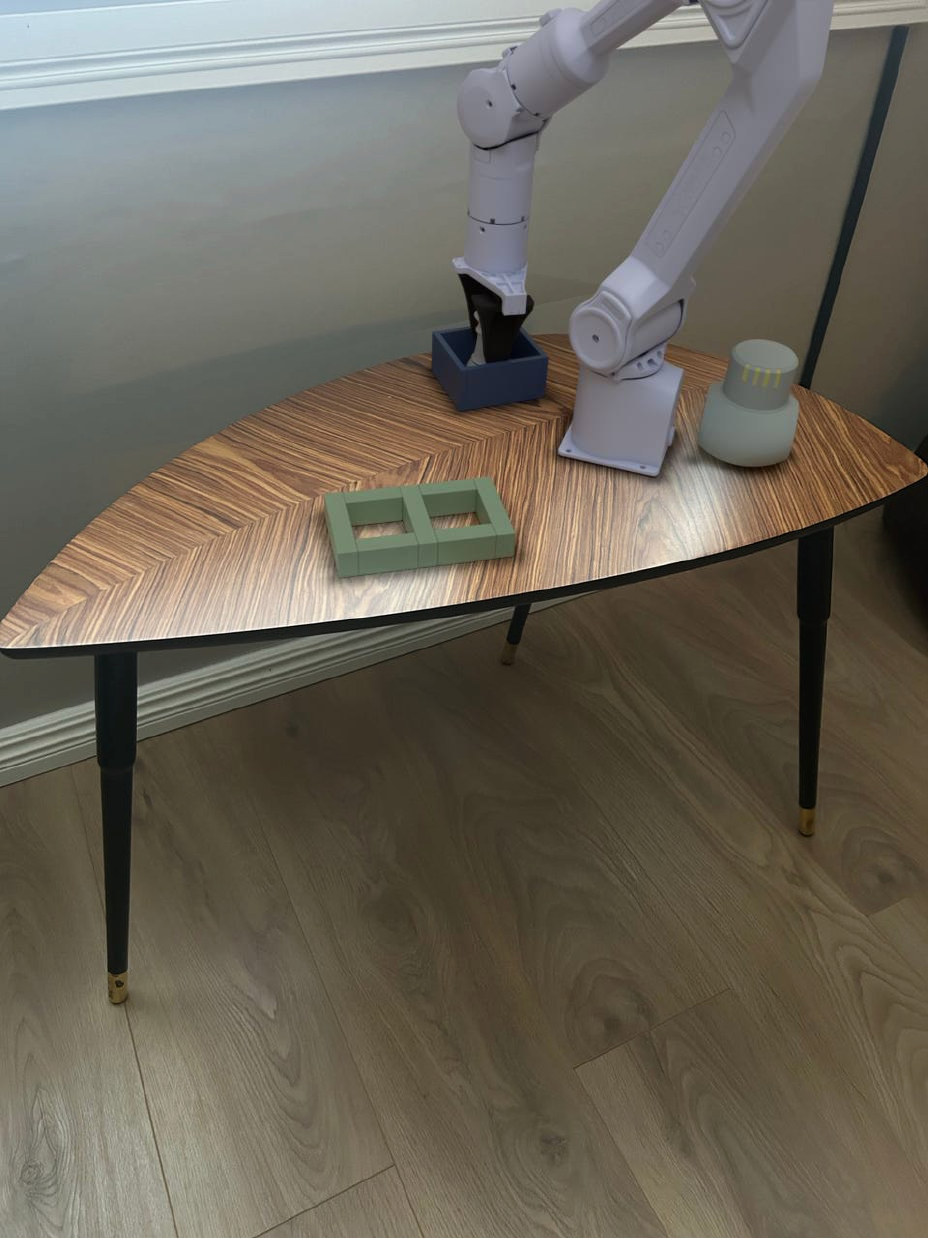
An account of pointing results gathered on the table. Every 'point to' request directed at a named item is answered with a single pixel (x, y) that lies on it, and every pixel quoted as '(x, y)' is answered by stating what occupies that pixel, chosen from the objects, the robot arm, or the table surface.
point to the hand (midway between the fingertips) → (489, 350)
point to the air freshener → (752, 406)
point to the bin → (487, 370)
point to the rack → (417, 526)
